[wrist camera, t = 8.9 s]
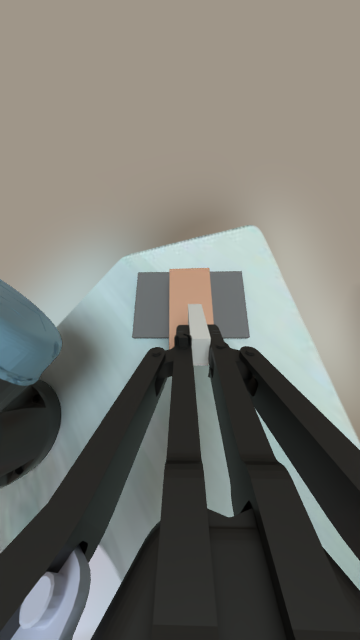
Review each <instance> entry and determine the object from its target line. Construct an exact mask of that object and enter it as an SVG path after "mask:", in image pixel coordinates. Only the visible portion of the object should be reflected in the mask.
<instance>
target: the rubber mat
mask: <svg viewBox="0 0 360 640" xmlns="http://www.w3.org/2000/svg"><path fill="white" fill-rule="evenodd" d="M210 283H211V296H212V309H213V321H214V324H215V325H217V326H218V327H219V330H220V332H221V335H222V337H223V338H249V337H250V335H249V327H248V319H247V311H246V303H245V294H244V286H243V278H242V271H229V272H210ZM169 285H170V272H138V280H137V290H136V301H135V312H134V323H133V334H132V337H133V338H169Z"/></svg>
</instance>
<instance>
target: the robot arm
mask: <svg viewBox="0 0 360 640" xmlns="http://www.w3.org/2000/svg"><path fill="white" fill-rule="evenodd" d="M61 348H62V339H61V336H60V333H59V332H58V330H57V328H56V327H55V325H54V324H53V323H52V322H51V321H50V319H49V318H48V317H47V316H46V315H45V314H44V313H43V312H42V311H41V310H40V309H39V308H37V306H35V305H34V304H33V303H32V302H31V301H29V300H28V299H27V298H26V297H24V296H23V295H22V294H21V293H19V292H18V291H16V290H15V289H14V288H12V287H11V286H10V285H8V284H7V283H5V282H3V281H2V280H1V279H0V488H2V487H4V486H7V485H9V484H11V483H12V482H14V481H16V480H17V479H19V478H20V477H22V476H23V475H25V474H26V473H27V472H29V471H30V470H32V469H33V468H34V467H35V466H37V465H38V464H39V463H40V462H41V461H42V460H43V458H44V457H45V456H46V455H47V453H48V452H49V450H50V449H51V447H52V445H53V443H54V441H55V439H56V436H57V433H58V430H59V426H60V418H61V411H60V404H59V400H58V398H57V395H56V394H55V392H54V390H53V389H52V388H51V387H50V386H49V385H48V384H46V383H45V382H43V381H41V380H38V379H39V378H40V376H41V373H42V372H43V371H44V370H45V369H46V368H47V367H48V366H49V365H50V364H51V362H52V361H53V360H54V359H55V358H56V357H57V356H58V354H59V353H60V351H61ZM208 362H209V375H208V377H210V378H211V383H212V389H213V394H214V399H215V404H216V410H217V415H218V420H219V425H220V430H221V436H222V441H223V446H224V451H225V457H226V462H227V467H228V472H229V477H230V484H231V499H232V506H233V512H234V516H233V517H226V516H223V515H221V514H219V513H216V512H214V511H212V510H209V509H207V503H206V492H205V481H204V471H203V464H202V460H201V451H200V439H199V428H198V416H197V404H196V392H195V380H194V368H193V366H208ZM170 376H172V390H171V404H170V418H169V433H168V447H167V459H166V463H165V470H164V482H163V495H162V508H161V521H159V522H158V523H157V524H156V526H155V527H154V528H153V529H152V530H151V532H150V533H149V534H148V536H147V537H146V539H145V541H144V542H143V544H142V546H141V548H140V550H139V551H138V553H137V555H136V557H135V559H134V561H133V563H132V564H131V566H130V568H129V570H128V572H127V574H126V575H125V577H124V579H123V581H122V583H121V585H120V587H119V589H118V590H117V592H116V594H115V596H114V598H113V600H112V601H111V603H110V605H109V607H108V609H107V611H106V612H105V614H104V616H103V618H102V620H101V622H100V624H99V626H98V627H97V629H96V631H95V633H94V635H93V636H92V638H91V640H360V590H359V589H358V588H357V587H356V586H355V584H354V583H353V582H352V581H351V580H350V579H349V577H348V576H347V575H346V574H345V573H344V572H343V570H342V569H341V568H340V567H339V566H338V565H337V563H336V562H335V561H334V560H333V559H332V557H331V556H330V555H329V554H328V553H327V552H326V550H325V549H324V548H323V547H322V545H321V543H320V541H319V538H318V536H317V534H316V532H315V529H314V527H313V525H312V523H311V520H310V518H309V516H308V514H307V512H306V509H305V507H304V505H303V503H302V500H301V498H300V496H299V494H298V491H297V489H296V487H295V485H294V482H293V480H292V478H291V476H290V474H289V472H288V471H287V469H286V468H285V467H284V465H282V464H281V463H279V462H278V461H277V459H276V458H275V456H274V454H273V451H272V449H271V446H270V444H269V442H268V439H267V437H266V434H265V432H264V430H263V427H262V425H261V422H260V420H259V417H258V415H257V413H256V410H257V412H258V413H259V415H260V416H261V418H262V419H263V421H264V422H265V424H266V425H267V427H268V428H269V430H270V431H271V433H272V434H273V436H274V437H275V439H276V440H277V442H278V443H279V445H280V446H281V448H282V449H283V451H284V452H285V454H286V455H287V457H288V458H289V460H290V461H291V463H292V464H293V466H294V467H295V469H296V470H297V472H298V473H299V475H300V476H301V478H302V480H303V481H304V483H305V484H306V486H307V487H308V489H309V490H310V492H311V493H312V495H313V496H314V498H315V499H316V501H317V502H318V504H319V505H320V507H321V508H322V510H323V511H324V513H325V514H326V516H327V517H328V519H329V520H330V521H331V523H332V524H333V526H334V527H335V529H336V530H337V531H338V533H339V534H340V536H341V537H342V539H343V540H344V541H345V542H346V544H347V545H348V546H349V548H350V549H351V550H352V551H353V553H354V554H355V555H356V557H357V558H358V559H359V560H360V450H359V449H358V448H357V447H356V446H355V445H354V444H353V443H352V442H351V441H350V440H349V439H348V438H347V437H346V436H345V435H344V434H343V433H342V432H341V431H340V430H339V429H338V428H337V427H335V426H334V425H333V424H332V423H331V422H330V421H329V420H328V419H327V418H326V417H325V416H324V415H323V414H322V413H321V412H320V411H319V410H318V409H317V408H316V407H315V406H314V405H313V404H312V403H311V402H310V401H309V400H308V399H307V398H306V397H305V396H304V395H303V394H302V393H301V392H300V391H299V390H298V389H297V388H296V387H295V386H294V385H292V384H291V383H290V382H289V381H288V380H287V379H286V378H285V377H284V376H283V375H282V374H281V373H280V372H279V371H278V370H277V369H276V368H275V367H274V366H273V365H272V364H271V363H270V362H269V361H268V360H267V359H266V358H265V357H264V356H263V355H262V354H261V353H260V352H259V351H258V350H256V349H255V348H252V347H248V346H245V347H242V348H241V349H240V350H235V349H232V348H230V347H229V346H228V344H227V343H225V342H224V340H223V337H222V335H221V332H220V330H219V327H218V326H217V325H215V324H207V323H206V319H205V315H204V312H203V308H202V304H188V325H178V326H177V328H176V335H175V337H174V347H173V348H172V349H169V350H166V351H165V350H164V349H163V348H160V347H155V348H152V349H150V350H149V351H148V352H147V354H146V355H145V357H144V358H143V360H142V361H141V363H140V364H139V366H138V367H137V369H136V370H135V372H134V373H133V375H132V377H131V378H130V380H129V381H128V383H127V384H126V386H125V387H124V389H123V390H122V392H121V393H120V395H119V396H118V398H117V399H116V401H115V402H114V404H113V405H112V407H111V408H110V410H109V411H108V413H107V414H106V416H105V417H104V419H103V420H102V422H101V424H100V425H99V427H98V428H97V430H96V431H95V433H94V434H93V436H92V437H91V439H90V440H89V442H88V443H87V445H86V446H85V448H84V449H83V451H82V452H81V454H80V455H79V457H78V458H77V460H76V461H75V463H74V464H73V466H72V467H71V469H70V470H69V472H68V474H67V475H66V477H65V478H64V480H63V481H62V483H61V484H60V486H59V487H58V489H57V490H56V492H55V493H54V495H53V496H52V498H51V499H50V501H49V502H48V504H47V505H46V506H45V507H44V508H43V509H42V510H41V511H40V512H39V513H38V514H37V515H36V516H35V517H34V519H33V520H32V521H31V522H30V523H29V524H28V525H27V526H26V527H25V528H24V529H23V530H22V531H21V532H20V534H19V535H18V536H17V537H16V538H15V539H14V540H13V541H12V542H11V543H10V544H9V545H8V546H7V547H6V548H5V550H4V551H3V552H2V553H1V554H0V640H72V637H73V634H74V632H75V630H76V627H77V625H78V622H79V620H80V617H81V615H82V613H83V610H84V608H85V605H86V601H87V598H88V594H89V589H90V581H91V579H90V568H89V564H88V563H89V561H90V559H91V558H92V556H93V554H94V552H95V550H96V548H97V546H98V544H99V543H100V541H101V539H102V537H103V535H104V533H105V531H106V528H107V526H108V524H109V521H110V519H111V517H112V515H113V512H114V510H115V507H116V505H117V502H118V500H119V497H120V495H121V492H122V490H123V487H124V485H125V482H126V480H127V477H128V475H129V472H130V470H131V467H132V465H133V462H134V460H135V457H136V455H137V453H138V450H139V448H140V445H141V443H142V440H143V438H144V435H145V433H146V430H147V428H148V425H149V423H150V420H151V418H152V415H153V413H154V410H155V408H156V405H157V403H158V400H159V398H160V395H161V393H162V390H163V388H164V385H165V383H166V380H167V377H170ZM254 407H255V408H254ZM255 409H256V410H255Z"/></svg>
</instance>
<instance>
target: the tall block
mask: <svg viewBox="0 0 360 640" xmlns="http://www.w3.org/2000/svg"><path fill="white" fill-rule="evenodd" d="M188 304H202V308H203V312H204V315H205V319H206V323H207V324H214V321H213V309H212V296H211V283H210V271H209V268H191V269H170V285H169V349H172V348H173V347H174V337H175V335H176V328H177V326H178V325H188Z"/></svg>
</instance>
